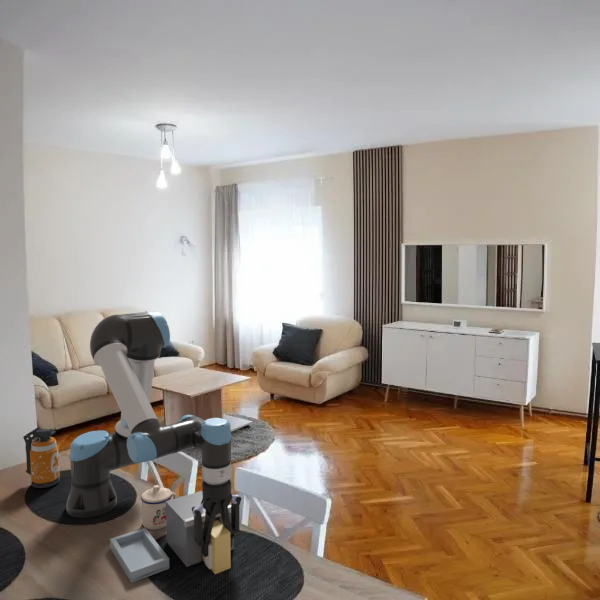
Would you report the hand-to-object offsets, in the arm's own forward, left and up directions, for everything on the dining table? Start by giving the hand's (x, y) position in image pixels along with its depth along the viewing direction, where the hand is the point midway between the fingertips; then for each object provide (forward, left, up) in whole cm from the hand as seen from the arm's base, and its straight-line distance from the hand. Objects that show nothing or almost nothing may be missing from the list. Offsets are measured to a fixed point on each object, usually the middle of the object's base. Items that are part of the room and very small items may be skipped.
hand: (217, 562), depth 139 cm
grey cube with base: (-11, 0, -1) cm, 11 cm away
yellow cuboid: (-3, 0, -1) cm, 3 cm away
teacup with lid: (-30, -4, -1) cm, 30 cm away
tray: (-15, -16, -1) cm, 22 cm away
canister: (-77, -29, -1) cm, 82 cm away
